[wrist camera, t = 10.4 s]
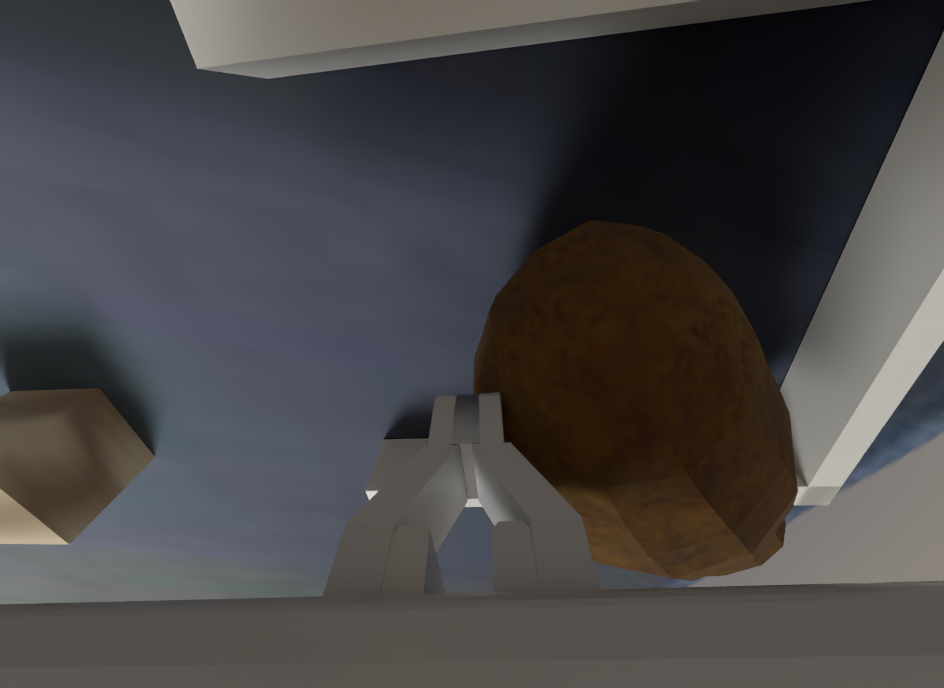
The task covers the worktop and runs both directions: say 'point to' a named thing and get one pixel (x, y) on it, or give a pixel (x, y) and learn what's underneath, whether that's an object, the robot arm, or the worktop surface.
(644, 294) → the potato
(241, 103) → the worktop surface
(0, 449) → the beech block
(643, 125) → the worktop surface
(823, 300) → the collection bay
